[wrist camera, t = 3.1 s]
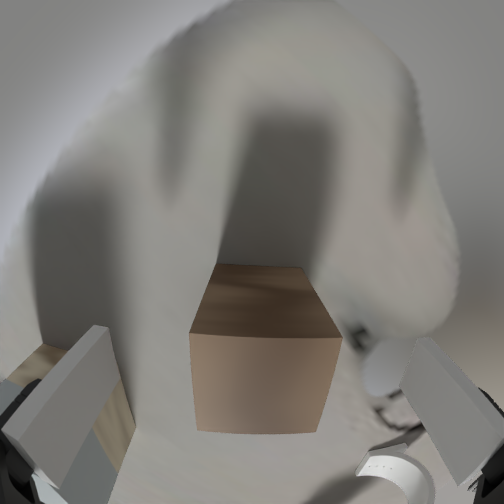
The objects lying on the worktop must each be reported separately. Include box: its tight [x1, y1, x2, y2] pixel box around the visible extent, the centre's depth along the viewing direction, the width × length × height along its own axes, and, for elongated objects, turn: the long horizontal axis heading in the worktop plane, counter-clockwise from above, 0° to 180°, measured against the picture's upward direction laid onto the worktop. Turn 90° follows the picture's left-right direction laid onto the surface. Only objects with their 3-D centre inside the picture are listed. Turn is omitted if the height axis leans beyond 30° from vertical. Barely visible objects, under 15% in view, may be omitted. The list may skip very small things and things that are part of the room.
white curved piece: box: [355, 443, 435, 504], centre depth 16 cm, size 5×6×12 cm
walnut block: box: [189, 264, 343, 434], centre depth 13 cm, size 5×5×8 cm
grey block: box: [0, 379, 118, 504], centre depth 10 cm, size 8×8×6 cm
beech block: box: [7, 344, 136, 473], centre depth 16 cm, size 8×8×6 cm
